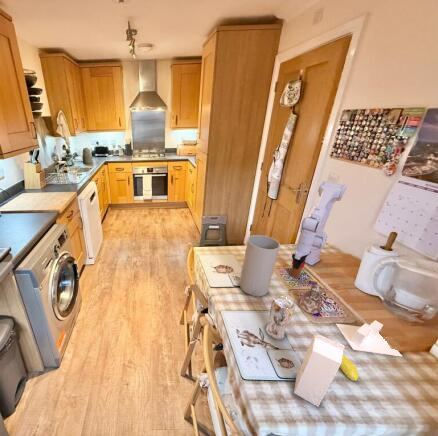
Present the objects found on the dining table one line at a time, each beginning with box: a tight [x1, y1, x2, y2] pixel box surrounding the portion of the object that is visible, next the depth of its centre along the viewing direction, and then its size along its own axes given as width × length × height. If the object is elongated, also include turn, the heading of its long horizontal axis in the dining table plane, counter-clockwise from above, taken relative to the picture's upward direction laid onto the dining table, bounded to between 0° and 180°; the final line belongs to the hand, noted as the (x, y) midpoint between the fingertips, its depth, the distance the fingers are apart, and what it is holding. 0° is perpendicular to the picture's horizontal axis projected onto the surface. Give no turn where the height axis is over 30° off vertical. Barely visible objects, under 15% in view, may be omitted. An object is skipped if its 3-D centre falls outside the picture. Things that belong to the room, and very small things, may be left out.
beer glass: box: [265, 295, 296, 340], centre depth 83 cm, size 7×7×15 cm
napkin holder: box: [335, 319, 404, 357], centre depth 83 cm, size 15×11×6 cm
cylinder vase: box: [238, 234, 281, 297], centre depth 103 cm, size 12×12×25 cm
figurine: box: [299, 281, 324, 315], centre depth 95 cm, size 7×7×12 cm
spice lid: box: [291, 260, 306, 269], centre depth 114 cm, size 5×5×2 cm
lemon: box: [339, 354, 359, 382], centre depth 73 cm, size 4×8×4 cm, turn 169°
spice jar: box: [289, 264, 303, 279], centre depth 115 cm, size 4×4×8 cm
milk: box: [293, 333, 346, 408], centre depth 64 cm, size 6×6×22 cm
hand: (297, 265), depth 114 cm, fingers open, 6 cm apart
